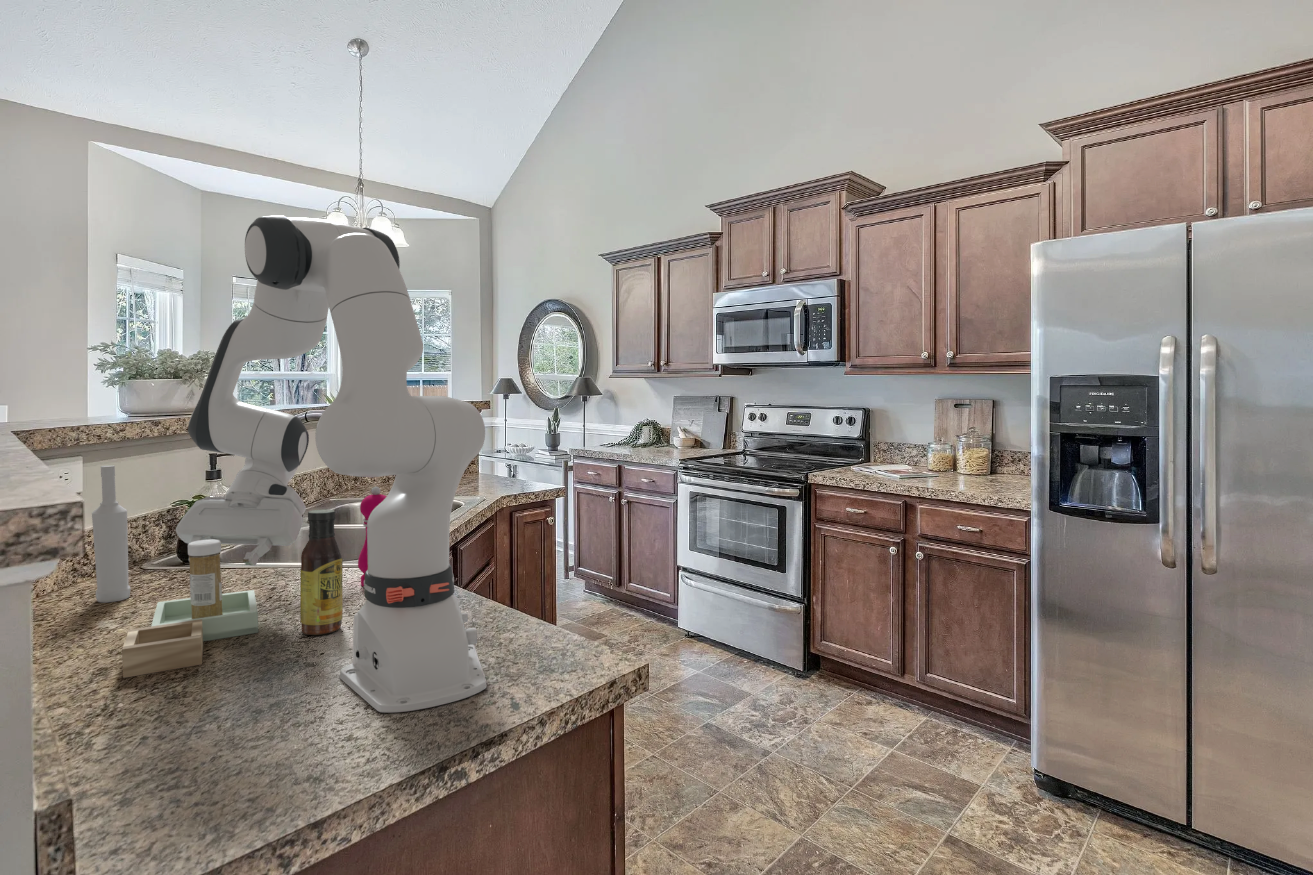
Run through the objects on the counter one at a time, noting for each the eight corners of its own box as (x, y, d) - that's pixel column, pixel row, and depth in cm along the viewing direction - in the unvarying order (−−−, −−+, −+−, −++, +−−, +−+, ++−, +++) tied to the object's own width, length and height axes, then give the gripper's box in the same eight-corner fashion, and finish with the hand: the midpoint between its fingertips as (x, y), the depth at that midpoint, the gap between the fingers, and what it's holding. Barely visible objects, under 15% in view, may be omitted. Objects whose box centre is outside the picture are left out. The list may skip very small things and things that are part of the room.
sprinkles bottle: (229, 616, 116) (226, 538, 115) (211, 626, 111) (209, 544, 110) (202, 616, 116) (199, 538, 115) (183, 625, 111) (180, 544, 110)
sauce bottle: (325, 638, 109) (323, 515, 107) (291, 635, 110) (288, 513, 109) (352, 625, 115) (349, 508, 114) (319, 622, 117) (316, 507, 115)
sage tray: (258, 632, 111) (257, 611, 111) (151, 649, 104) (151, 626, 103) (254, 608, 123) (253, 589, 123) (158, 622, 115) (157, 602, 115)
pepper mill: (402, 578, 143) (400, 484, 142) (387, 588, 136) (385, 489, 135) (368, 578, 144) (366, 483, 142) (351, 588, 136) (349, 488, 135)
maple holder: (201, 664, 98) (201, 637, 98) (123, 677, 93) (121, 649, 93) (203, 644, 106) (202, 619, 106) (130, 655, 101) (129, 629, 101)
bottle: (137, 594, 131) (132, 464, 129) (117, 602, 125) (111, 467, 124) (109, 594, 130) (104, 464, 129) (88, 602, 125) (82, 467, 123)
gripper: (190, 486, 124) (151, 552, 115) (301, 488, 124) (271, 554, 115) (207, 506, 129) (171, 571, 120) (315, 508, 128) (287, 573, 119)
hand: (221, 563), depth 117 cm, fingers open, 8 cm apart
